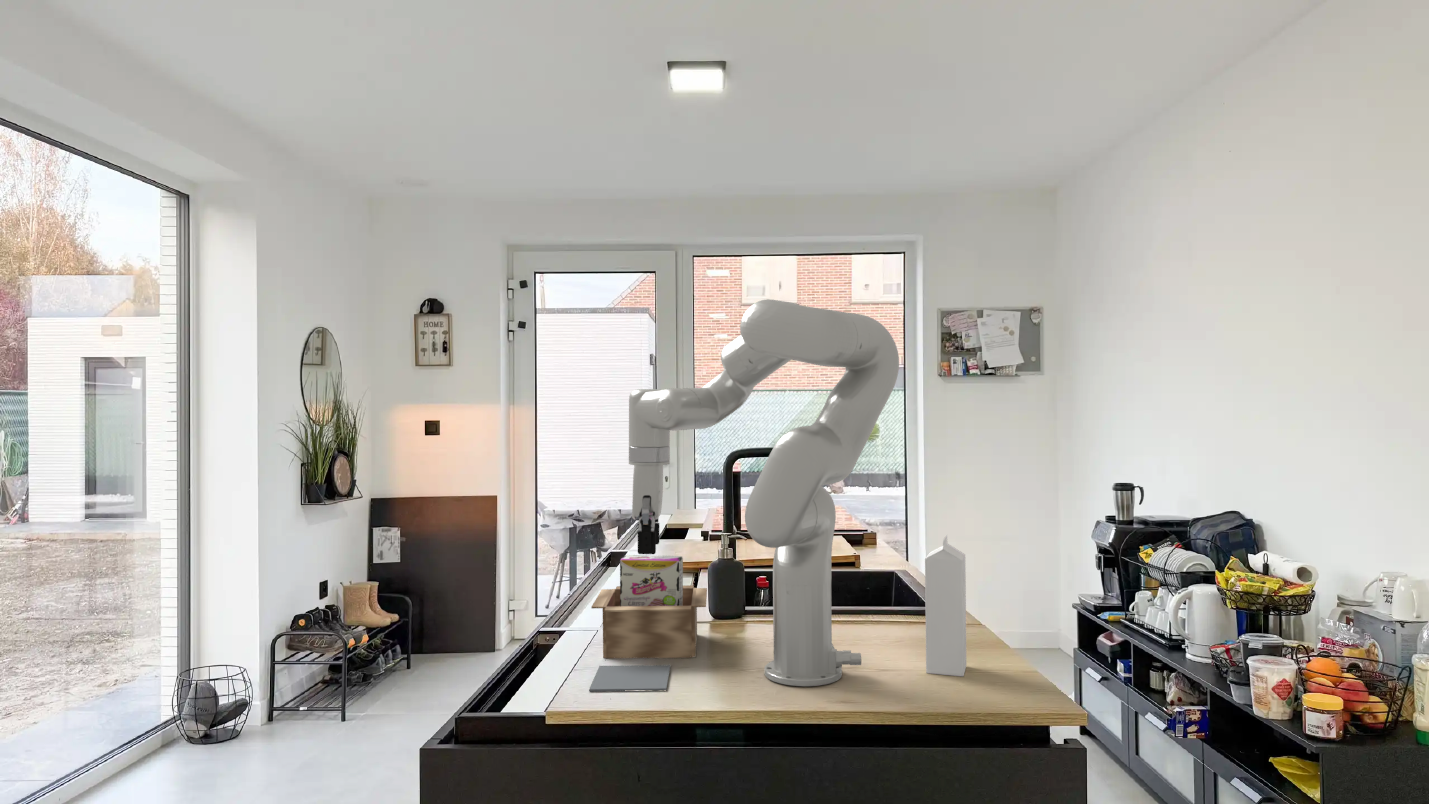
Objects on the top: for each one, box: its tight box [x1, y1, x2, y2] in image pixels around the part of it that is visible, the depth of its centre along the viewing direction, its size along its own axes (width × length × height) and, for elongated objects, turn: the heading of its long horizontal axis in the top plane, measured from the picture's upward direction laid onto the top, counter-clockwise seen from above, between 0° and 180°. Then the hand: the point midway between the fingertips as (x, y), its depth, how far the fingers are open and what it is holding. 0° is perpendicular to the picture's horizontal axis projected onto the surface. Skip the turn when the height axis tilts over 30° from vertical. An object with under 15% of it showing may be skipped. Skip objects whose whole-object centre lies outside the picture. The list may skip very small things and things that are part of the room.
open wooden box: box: [591, 584, 708, 660], centre depth 162 cm, size 20×19×9 cm
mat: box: [588, 664, 671, 693], centre depth 143 cm, size 12×12×1 cm
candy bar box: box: [619, 554, 684, 606], centre depth 162 cm, size 11×5×16 cm, turn 84°
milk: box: [924, 534, 967, 677], centre depth 146 cm, size 6×6×22 cm
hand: (648, 548), depth 162 cm, fingers open, 9 cm apart
